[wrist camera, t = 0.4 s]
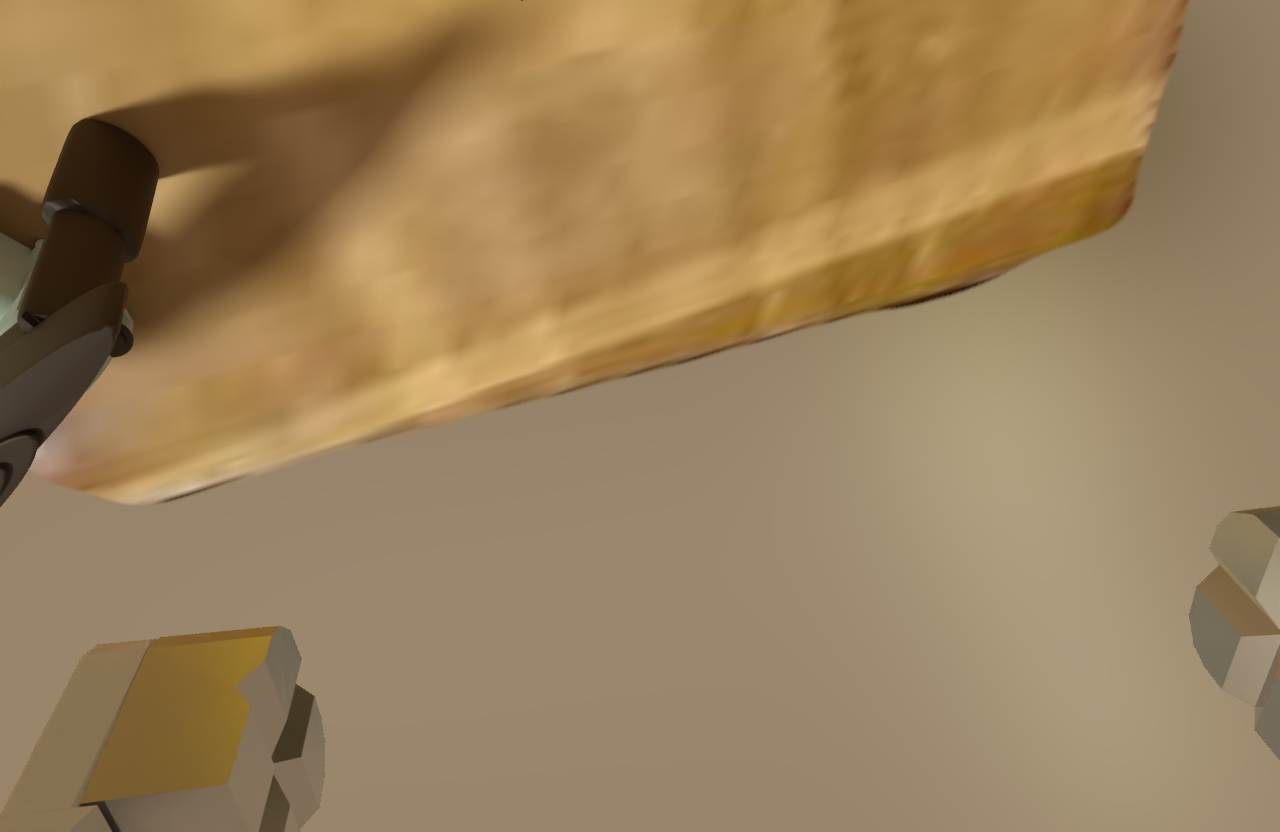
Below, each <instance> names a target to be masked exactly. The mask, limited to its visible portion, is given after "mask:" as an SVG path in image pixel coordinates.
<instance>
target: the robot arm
mask: <svg viewBox="0 0 1280 832" xmlns="http://www.w3.org/2000/svg"><path fill="white" fill-rule="evenodd" d="M1209 549H1210V550H1211V552H1212V554H1213V555H1214V557H1215V559H1216V560H1217V562H1218V564H1219V566H1218V567H1217V568H1216V569H1214V570H1213V571H1212V572H1211V573H1210V574H1209V575H1208V576H1207V577H1206V578H1205V579H1204V580H1203V581H1202V582H1201V583H1200V584H1199V585H1197V587H1196V591H1195V594H1194V598H1193V602H1192V606H1191V609H1190V613H1189V618H1190V624H1191V630H1192V637H1193V643H1194V646H1195V648H1196V650H1197V652H1198V654H1199V656H1200V659H1201V661H1202V663H1203V665H1204V667H1205V668H1206V669H1207V671H1208V672H1209V673H1210V674H1211V676H1212V677H1213V678H1214V680H1215V681H1216V682H1217V684H1218V685H1219V686H1220V687H1221V689H1223V690H1224V691H1226V692H1228V693H1230V694H1232V695H1234V696H1236V697H1238V698H1239V699H1241V700H1243V701H1245V702H1247V703H1249V704H1251V705H1252V706H1254V707H1255V731H1256V732H1257V733H1258V734H1259V736H1260V737H1261V738H1262V739H1263V740H1264V742H1265V743H1266V744H1267V745H1268V746H1269V748H1270V749H1271V750H1272V751H1273V753H1274V754H1275V755H1276V756H1277V757H1278V759H1279V760H1280V506H1274V507H1266V508H1258V509H1250V510H1242V511H1235V512H1230V513H1229V514H1228V515H1227V516H1226V517H1225V518H1224V519H1223V520H1222V521H1221V522H1220V523H1219V524H1218V525H1217V527H1216V530H1215V533H1214V536H1213V539H1212V541H1211V544H1210V548H1209ZM301 659H302V658H301V656H300V653H299V651H298V648H297V645H296V643H295V640H294V638H293V635H292V632H291V630H289V629H287V628H285V627H282V626H274V627H262V628H252V629H242V630H232V631H221V632H210V633H201V634H190V635H180V636H170V637H161V638H159V639H153V640H141V641H131V642H120V643H109V644H99V645H96V646H95V647H94V648H93V649H91V650H90V651H89V652H87V653H86V654H85V655H83V656H82V658H81V659H80V661H79V663H78V665H77V666H76V669H75V671H74V672H73V674H72V676H71V678H70V680H69V682H68V684H67V686H66V688H65V690H64V692H63V693H62V696H61V697H60V699H59V702H58V703H57V705H56V707H55V709H54V711H53V713H52V715H51V717H50V719H49V720H48V722H47V724H46V726H45V728H44V730H43V732H42V734H41V736H40V738H39V740H38V742H37V744H36V746H35V748H34V749H33V752H32V753H31V755H30V757H29V759H28V761H27V763H26V765H25V767H24V769H23V771H22V773H21V775H20V777H19V779H18V780H17V782H16V784H15V786H14V788H13V790H12V792H11V794H10V796H9V798H8V800H7V802H6V803H5V805H4V808H3V809H2V811H1V813H0V832H300V829H301V828H302V826H303V825H304V824H305V823H306V822H307V821H308V820H309V819H310V818H311V816H312V815H313V814H314V813H315V812H316V811H317V810H318V809H319V806H320V801H321V795H322V789H323V783H324V778H325V738H324V732H323V726H322V719H321V715H320V712H319V709H318V706H317V702H316V699H315V696H314V695H312V694H311V693H309V692H308V691H306V690H305V689H303V688H302V687H300V686H299V685H297V684H296V680H297V676H298V672H299V668H300V664H301Z"/></svg>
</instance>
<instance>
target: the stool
mask: <svg viewBox="0 0 1280 832" xmlns="http://www.w3.org/2000/svg"><path fill="white" fill-rule="evenodd" d="M158 175H159V169H158V164H157V162H156V160H155V159H154V157H153V156H152V154H151V153H150V152H149V151H148V149H147V148H146V147H145V146H144V145H142V144H141V143H140V142H139V141H138V140H136V139H135V138H134V137H132V136H131V135H129V134H128V133H126V132H124V131H122V130H120V129H118V128H116V127H114V126H111V125H109V124H106V123H102V122H98V121H90V120H88V121H80V122H78V123H76V124H74V125H73V127H72V128H71V130H70V132H69V134H68V136H67V138H66V141H65V143H64V146H63V148H62V151H61V154H60V156H59V159H58V162H57V164H56V167H55V169H54V172H53V175H52V177H51V180H50V183H49V185H48V188H47V191H46V194H45V197H44V199H43V203H42V207H41V216H42V219H43V221H44V222H45V224H46V225H47V227H48V230H47V233H46V235H45V238H44V239H38V240H37V241H36V243H35V246H36V247H35V248H34V249H33V250H31V249H29V248H28V247H26V246H24V245H22V244H20V243H19V242H17V241H15V240H13V239H11V238H10V237H8V236H6V235H4V234H2V233H1V232H0V507H1V506H2V504H3V503H4V502H5V501H6V499H7V498H8V497H9V496H10V495H11V494H12V492H13V491H14V490H15V488H16V487H17V486H18V484H19V483H20V482H21V480H22V479H23V477H24V475H25V474H26V473H27V471H28V469H29V467H30V466H31V464H32V462H33V460H34V458H35V454H36V451H37V449H38V448H39V447H40V446H41V445H42V444H43V442H44V441H45V440H46V439H47V438H48V437H49V436H50V435H51V433H52V432H53V431H54V430H55V429H56V428H57V426H58V425H59V424H60V423H61V422H62V421H63V419H64V418H65V417H66V416H67V415H68V413H69V412H70V411H71V410H72V408H73V407H74V406H75V405H76V403H77V402H78V401H79V399H80V398H81V397H82V395H83V394H84V393H85V392H86V391H87V390H88V389H89V388H90V387H91V385H92V384H93V383H94V382H95V381H96V380H97V379H98V377H99V376H100V375H101V374H102V372H103V371H104V370H105V368H106V367H107V365H108V364H109V363H110V361H111V360H112V358H113V357H119V356H122V355H124V354H126V353H127V352H129V351H130V349H131V348H132V346H133V335H132V330H133V326H134V322H133V320H132V318H131V316H130V315H129V313H128V311H127V310H126V308H125V305H126V300H127V294H128V288H127V285H126V284H125V283H123V282H119V281H120V277H121V273H122V270H123V266H124V263H125V262H130V261H132V260H134V259H135V258H136V257H137V256H138V254H139V252H140V249H141V246H142V243H143V239H144V236H145V232H146V228H147V223H148V219H149V215H150V211H151V207H152V203H153V198H154V194H155V190H156V186H157V182H158Z"/></svg>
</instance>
